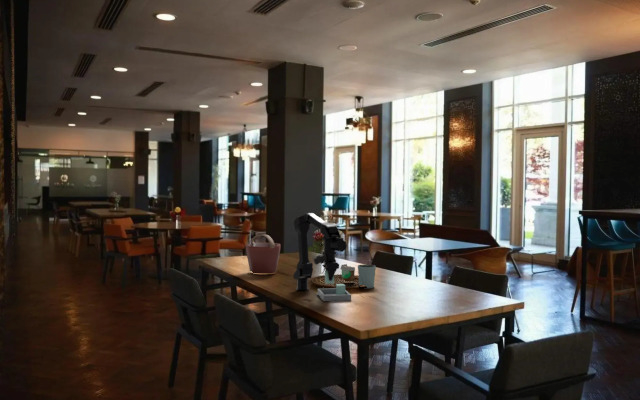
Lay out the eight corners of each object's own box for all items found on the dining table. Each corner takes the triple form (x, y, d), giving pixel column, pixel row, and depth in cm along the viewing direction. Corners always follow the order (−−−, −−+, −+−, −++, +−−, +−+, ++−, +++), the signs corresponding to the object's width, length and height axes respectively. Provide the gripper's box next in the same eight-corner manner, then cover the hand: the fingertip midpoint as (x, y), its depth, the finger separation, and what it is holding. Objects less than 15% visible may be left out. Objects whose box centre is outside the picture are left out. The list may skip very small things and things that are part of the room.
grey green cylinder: (354, 287, 286) (354, 266, 286) (361, 284, 295) (362, 263, 295) (371, 289, 282) (371, 267, 281) (378, 286, 291) (378, 265, 290)
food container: (337, 281, 304) (337, 264, 304) (346, 280, 306) (346, 264, 306) (345, 285, 293) (345, 267, 292) (355, 284, 295) (355, 267, 295)
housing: (317, 294, 268) (317, 282, 267) (343, 293, 270) (343, 281, 270) (323, 302, 251) (323, 288, 251) (351, 300, 253) (351, 287, 253)
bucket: (242, 271, 339) (242, 233, 338) (274, 268, 348) (274, 232, 347) (252, 277, 316) (252, 237, 316) (286, 274, 325) (286, 235, 324)
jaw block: (324, 282, 262) (324, 270, 261) (332, 282, 262) (332, 270, 262) (326, 283, 258) (326, 272, 257) (334, 283, 258) (334, 271, 258)
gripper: (311, 247, 267) (310, 277, 268) (317, 252, 249) (317, 284, 249) (331, 247, 269) (331, 276, 270) (339, 251, 251) (339, 283, 251)
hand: (329, 279), depth 260 cm, fingers closed on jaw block, 4 cm apart
